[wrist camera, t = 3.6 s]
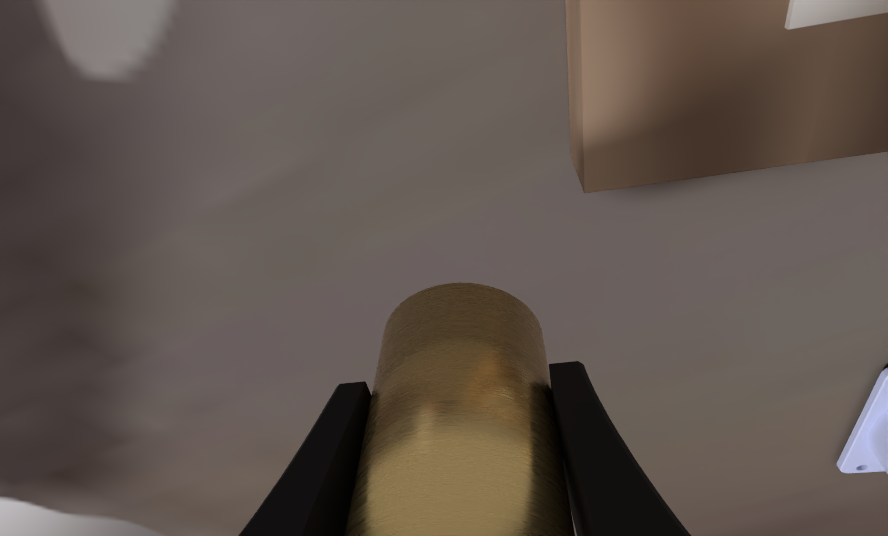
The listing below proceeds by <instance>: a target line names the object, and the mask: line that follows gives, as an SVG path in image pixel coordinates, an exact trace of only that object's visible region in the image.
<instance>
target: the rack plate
mask: <svg viewBox="0 0 888 536" xmlns="http://www.w3.org/2000/svg"><path fill="white" fill-rule="evenodd" d="M565 4H566V31H567V58H568V85H569V112H570V139H571V158H572V161H573V164H574V166H575V169H576V172H577V175H578V177H579V180H580V183H581V185H582V188H583V191H584V193H591V192H598V191H605V190H612V189H620V188H627V187H634V186H641V185H649V184H656V183H663V182H670V181H677V180H685V179H692V178H699V177H706V176H714V175H721V174H728V173H735V172H742V171H750V170H757V169H764V168H771V167H779V166H786V165H793V164H800V163H807V162H815V161H822V160H829V159H836V158H844V157H851V156H858V155H865V154H872V153H880V152H887V151H888V0H565Z"/></svg>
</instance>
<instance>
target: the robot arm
mask: <svg viewBox="0 0 888 536" xmlns="http://www.w3.org/2000/svg"><path fill="white" fill-rule="evenodd" d="M549 371H550V381H551V391H552V397H553V404H554V410H555V416H556V422H557V429H558V434H559V440H560V446H561V452H562V459H563V465H564V471H565V477H566V484H567V490H568V496H569V502H570V508H571V512H572V516H573V520H574V524H575V528H576V533H577V536H691V535H690V534H689V533H688V531H687V530H686V529H685V528H684V526H683V525H682V524H681V522H680V521H679V520H678V519H677V517H676V516H675V515H674V513H673V512H672V511H671V509H670V508H669V507H668V505H667V504H666V503H665V501H664V500H663V499H662V497H661V496H660V494H659V493H658V492H657V490H656V489H655V487H654V486H653V484H652V483H651V482H650V480H649V479H648V477H647V476H646V475H645V473H644V472H643V470H642V469H641V467H640V466H639V464H638V463H637V461H636V460H635V458H634V457H633V455H632V454H631V452H630V450H629V449H628V447H627V446H626V444H625V442H624V441H623V439H622V438H621V436H620V435H619V433H618V431H617V430H616V428H615V426H614V425H613V423H612V421H611V420H610V418H609V416H608V414H607V413H606V411H605V409H604V407H603V405H602V403H601V402H600V400H599V398H598V396H597V394H596V392H595V390H594V388H593V386H592V384H591V381H590V379H589V377H588V375H587V372H586V370H585V367H584V365H583V364H582V363H580V362H579V361H576V362H565V363H555V364H549ZM371 397H372V396H371V394H370V391H369V389H368V387H367V384H366V382H355V383H345V384H339V385H338V387H337V388H336V389H335V391H334V393H333V394H332V396H331V398H330V399H329V401H328V403H327V404H326V406H325V408H324V409H323V411H322V413H321V414H320V416H319V418H318V419H317V421H316V423H315V424H314V426H313V428H312V429H311V431H310V433H309V434H308V436H307V437H306V439H305V441H304V442H303V444H302V445H301V447H300V448H299V450H298V452H297V453H296V455H295V456H294V458H293V459H292V461H291V462H290V464H289V465H288V467H287V468H286V470H285V472H284V473H283V475H282V476H281V478H280V479H279V481H278V482H277V483H276V485H275V486H274V488H273V489H272V490H271V492H270V493H269V495H268V496H267V498H266V499H265V500H264V502H263V503H262V505H261V506H260V507H259V509H258V510H257V512H256V513H255V514H254V516H253V517H252V519H251V520H250V521H249V523H248V524H247V525H246V526H245V528H244V529H243V530H242V532H241V533H240V534H239V536H345V531H346V526H347V521H348V515H349V510H350V505H351V500H352V495H353V490H354V484H355V479H356V474H357V469H358V464H359V459H360V453H361V448H362V443H363V438H364V433H365V428H366V422H367V417H368V412H369V407H370V402H371ZM837 466H838V468H839V469H840V471H841V472H844V473H861V472H879V471H886V472H887V474H888V368H886V369H884V370H883V371H882V372H881V374H880V376H879V378H878V380H877V382H876V384H875V386H874V388H873V390H872V392H871V394H870V396H869V398H868V400H867V402H866V404H865V406H864V409H863V411H862V413H861V415H860V417H859V419H858V421H857V423H856V425H855V427H854V429H853V431H852V433H851V435H850V437H849V439H848V441H847V443H846V445H845V448H844V450H843V452H842V454H841V456H840V458H839V460H838V462H837Z"/></svg>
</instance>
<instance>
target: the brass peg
mask: <svg viewBox="0 0 888 536" xmlns="http://www.w3.org/2000/svg"><path fill="white" fill-rule="evenodd" d="M345 536H575V534H574V527H573V521H572V515H571V509H570V502H569V496H568V490H567V484H566V477H565V471H564V465H563V459H562V452H561V446H560V440H559V434H558V429H557V422H556V416H555V410H554V404H553V397H552V391H551V384H550V378H549V371H548V365H547V359H546V353H545V347H544V340H543V335H542V329H541V327H540V324H539V322H538V320H537V318H536V317H535V315H534V314H533V313H532V311H531V310H530V309H529V308H528V307H527V306H526V305H525V304H524V303H522V302H521V301H520V300H518V299H517V298H515V297H514V296H512V295H510V294H508V293H506V292H504V291H502V290H499V289H496V288H493V287H489V286H485V285H480V284H473V283H451V284H444V285H438V286H434V287H431V288H427V289H425V290H422V291H420V292H418V293H416V294H414V295H412V296H410V297H409V298H407V299H406V300H405V301H403V302H402V303H401V304H400V305H399V306H398V307H397V308H396V309H395V310H394V311H393V313H392V314H391V315H390V317H389V319H388V321H387V323H386V326H385V330H384V335H383V340H382V345H381V350H380V355H379V360H378V366H377V371H376V376H375V381H374V386H373V391H372V397H371V402H370V407H369V412H368V417H367V422H366V428H365V433H364V438H363V443H362V448H361V453H360V459H359V464H358V469H357V474H356V479H355V484H354V490H353V495H352V500H351V505H350V510H349V515H348V521H347V526H346V531H345Z"/></svg>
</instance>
